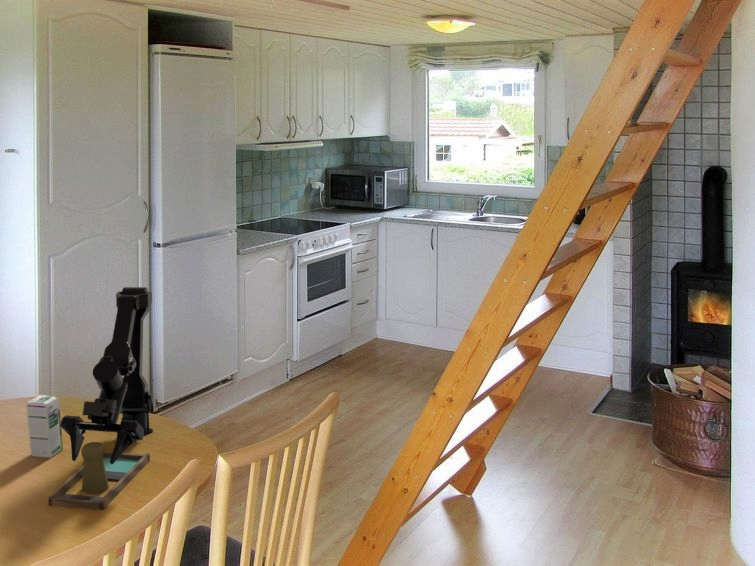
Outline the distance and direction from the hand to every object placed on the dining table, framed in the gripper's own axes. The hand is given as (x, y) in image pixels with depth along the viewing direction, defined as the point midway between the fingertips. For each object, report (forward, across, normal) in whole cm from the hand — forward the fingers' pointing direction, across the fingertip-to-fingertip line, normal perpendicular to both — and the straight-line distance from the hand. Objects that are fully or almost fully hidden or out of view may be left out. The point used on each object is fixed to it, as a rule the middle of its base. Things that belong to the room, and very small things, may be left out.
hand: (92, 462), depth 207 cm
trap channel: (+2, 0, +8) cm, 8 cm away
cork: (+4, 0, +6) cm, 7 cm away
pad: (-4, 0, +14) cm, 15 cm away
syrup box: (-7, -21, +17) cm, 28 cm away
